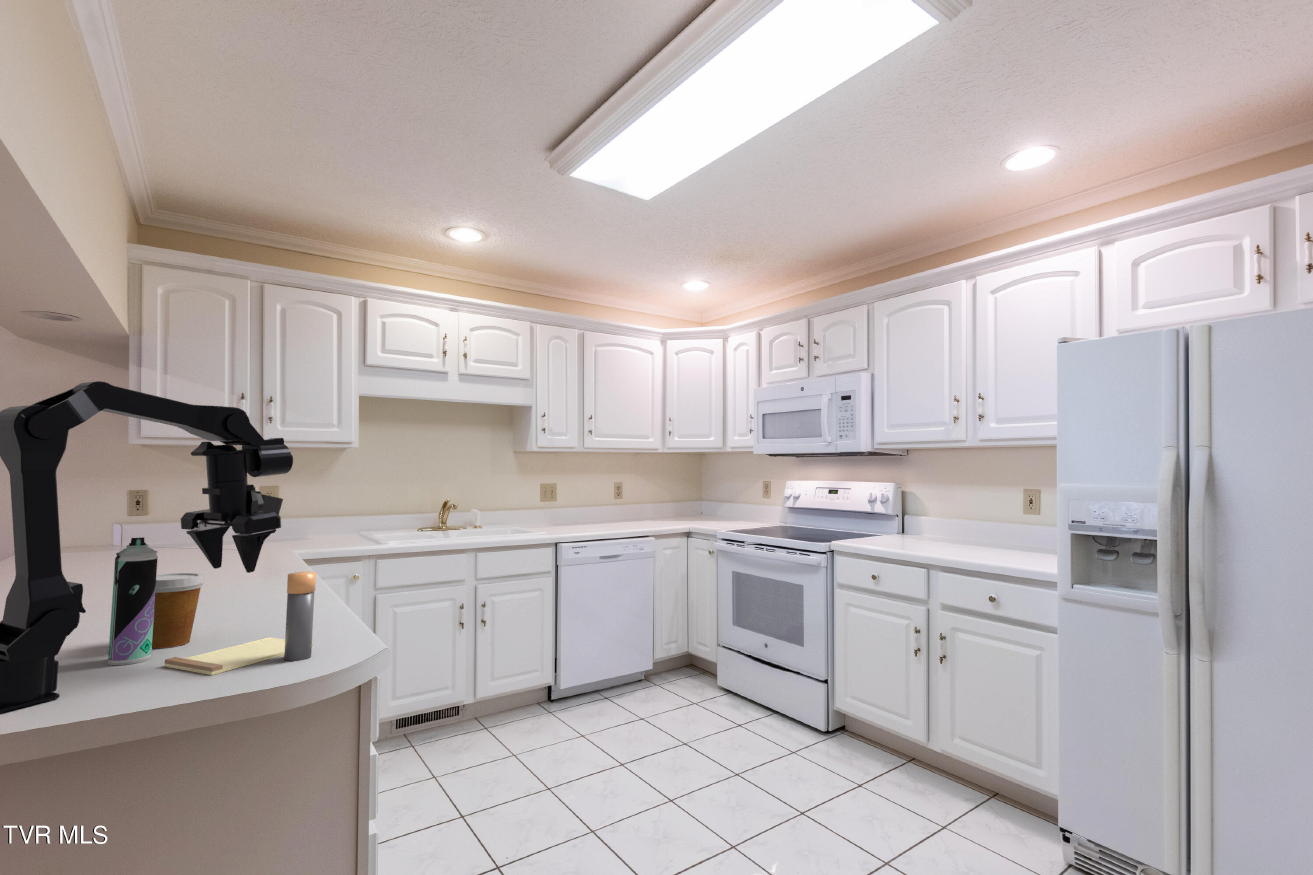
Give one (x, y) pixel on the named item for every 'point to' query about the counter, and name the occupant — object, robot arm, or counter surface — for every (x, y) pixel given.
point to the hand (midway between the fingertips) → (233, 570)
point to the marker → (299, 615)
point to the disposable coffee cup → (175, 608)
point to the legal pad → (230, 657)
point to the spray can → (133, 604)
